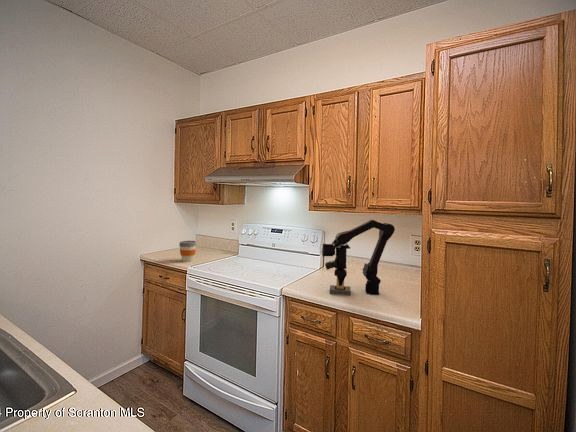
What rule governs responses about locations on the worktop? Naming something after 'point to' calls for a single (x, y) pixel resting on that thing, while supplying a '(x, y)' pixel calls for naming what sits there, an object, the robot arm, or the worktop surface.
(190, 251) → the reusable coffee cup
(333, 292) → the steel rail
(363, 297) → the worktop surface
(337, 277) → the brass block
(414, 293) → the worktop surface
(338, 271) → the robot arm
